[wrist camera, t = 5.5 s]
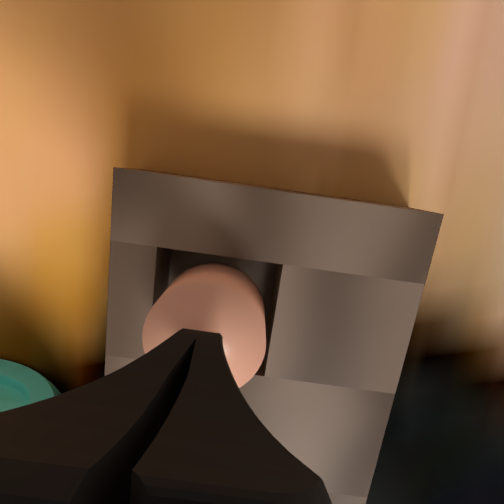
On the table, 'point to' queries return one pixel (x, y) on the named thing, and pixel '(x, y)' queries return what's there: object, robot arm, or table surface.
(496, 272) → the table surface
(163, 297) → the terracotta button
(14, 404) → the decorative dice
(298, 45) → the table surface
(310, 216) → the button panel
